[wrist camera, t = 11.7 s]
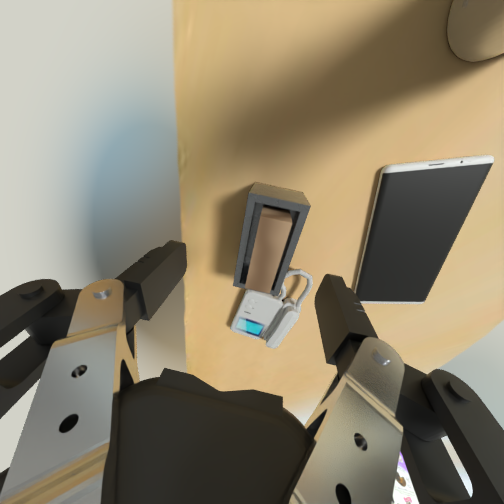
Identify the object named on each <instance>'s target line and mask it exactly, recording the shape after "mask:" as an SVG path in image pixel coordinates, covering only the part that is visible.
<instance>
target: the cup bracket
mask: <svg viewBox="0 0 504 504" xmlns="http://www.w3.org/2000/svg"><path fill="white" fill-rule="evenodd" d="M263 205H266V206H270V207H275V208H279V209H284V210H288V211H290V213H291V219H292V226H291V229H290V232H289V235H288V238H287V241H286V244H285V248H284V251H283V254H282V257H281V260H280V263H279V266H278V269H277V272H276V275H275V279H274V282H273V285H272V288H271V291H270V294H271V295H275V296H278V295H279V293H280V290H281V287H282V284H283V282H284V279H285V276H286V273H287V270H288V268H289V265H290V262H291V259H292V257H293V254H294V251H295V248H296V245H297V243H298V240H299V237H300V234H301V232H302V229H303V226H304V223H305V220H306V218H307V215H308V212H309V209H310V207H311V206H310V204H309V202H308V200H307V198H306V197H305V195H304V193H303V192H299V191H294V190H290V189H285V188H281V187H276V186H272V185H267V184H262V183H258V182H255V184H254V185H253V187H252V188H251V190H250V191H249V194H248V200H247V206H246V212H245V218H244V224H243V230H242V235H241V241H240V247H239V253H238V259H237V265H236V271H235V277H234V283H233V286H235V287H240V288H244V289H247V288H245V285H246V280H247V275H248V271H249V266H250V262H251V257H252V253H253V248H254V243H255V239H256V234H257V230H258V225H259V220H260V216H261V212H262V208H263ZM249 290H252V289H249ZM253 291H256V290H253ZM257 292H260V291H257ZM262 293H265V292H262ZM266 294H269V293H266Z"/></svg>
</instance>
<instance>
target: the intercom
mask: <svg viewBox="0 0 504 504" xmlns="http://www.w3.org/2000/svg"><path fill="white" fill-rule="evenodd" d="M297 274H300V275H301V276H303V277H305V278H307V285H306V288H305V290H304V291H303V293H302V294H301V295H300V297H299V298H298V300H296V299H293V298H286V299H284V301H283V302H282V299H283V298H284V297H285V296H286V287H285V285H284V282H283V284H282V287H281V294H279V295H278V296H275V295H271V294H266V293H262V292H257V291H253V290H249V289H246V291H245V294H244V296H243V298H242V301H241V303H240V305H239V308H238V310H237V312H236V315H235V317H234V319H233V321H232V324H231V327H230V329H231V330H232V331H233V332H236V333H239V334H242V335H245V336H248V337H251V338H254V339H260V338H262V336H263V337H264V340H266V346H267V347H269V348H277V347H278V346H279V344H280V343H281V342H282V340H283V339H284V337H285V336H286V334H287V333H288V332H289V330H290V329H291V328H292V326H293V325H294V324H295V323H296V321H297V320H298V318H299V313H300V311H301V303H302V301H303V300H304V299H305V297H306V296H307V295H308V293H309V292H310V290H311V288H312V285H313V284H312V276H311V275H310V274H308V273H306V272H305V271H303V270H301V269H296V270H290V271H287V273H286V276H285V278H287V277H289V276H291V275H297Z"/></svg>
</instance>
